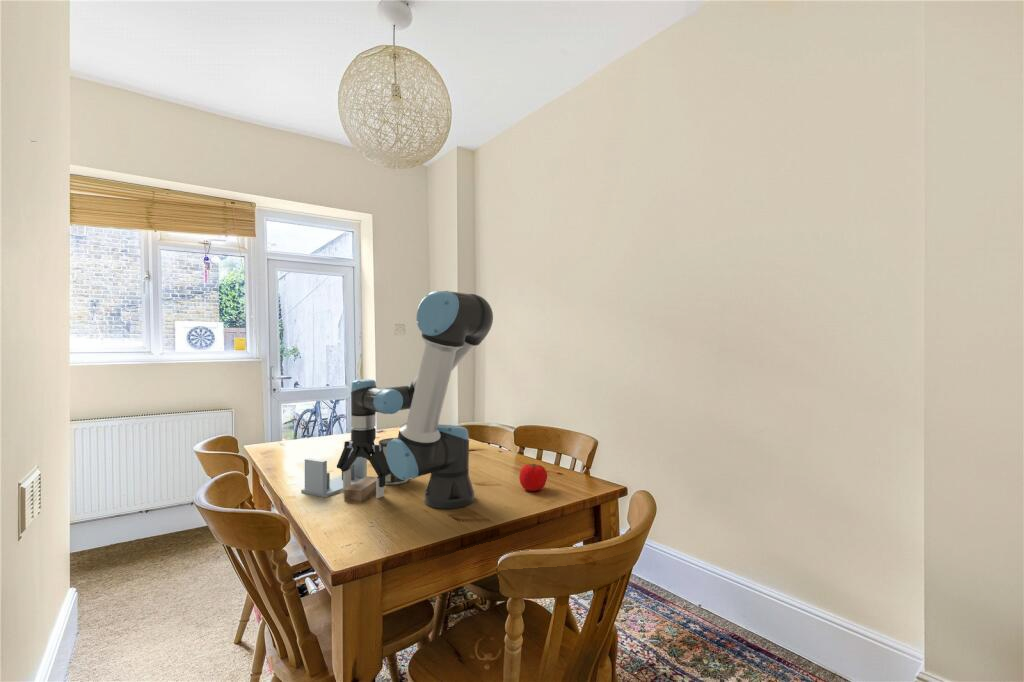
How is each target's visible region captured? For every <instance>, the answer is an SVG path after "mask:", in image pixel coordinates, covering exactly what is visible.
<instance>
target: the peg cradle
mask: <svg viewBox="0 0 1024 682" xmlns="http://www.w3.org/2000/svg"><path fill="white" fill-rule="evenodd" d="M352 451H353V448H352V450H351V452H352ZM351 452H350V454H351ZM350 454H349V456H350ZM348 458H349V457H348ZM367 463H368V460H367V459H366V458H363V457H357V458H356V460H355V461H354V462H353V464H352V465H351V466H350V469H348V470H351V485H353V484H354V483H356V482H358V481H359V480H361V479H363V478H364V477H366V476H368V475H367V474H368V470H367V469H368V466H367ZM327 468H328V461H327V460H324V459H317V458H312V457H311V458H310V457H308V458H305V459H304V488H302V489H300V490H301V491H300V493H301V494H307V495H311V496H317V497H322V498H329V497H332V496H333V495H336V494H339V493H341V492H343V480H342V475H339V476H337V477H333V478H331V479H330V472H328V469H327Z"/></svg>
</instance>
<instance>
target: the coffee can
mask: <svg viewBox="0 0 1024 682" xmlns="http://www.w3.org/2000/svg"><path fill="white" fill-rule="evenodd" d="M394 438H395V437H389V438H384V439H381V440H379V441H378V445H379V444H382V445H383V452H384V455H385V457H386V447H387V444H388V443H389V442H390V441H391V440H393V439H394ZM390 471H391V470H390ZM408 481H410V479H407V480H402V479H399V478H397V477H396V476H395V475H394V474H393V473H392V472H391V474H389V475H386V476H385V486H386V485H387V486H388V485H389V486H390V485H391V486H392V485H393V486H395V485H401V484H404V483H406V482H408Z"/></svg>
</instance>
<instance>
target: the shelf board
mask: <svg viewBox="0 0 1024 682" xmlns="http://www.w3.org/2000/svg"><path fill="white" fill-rule="evenodd" d="M376 477H377V476H368V475H367V476H366V477H364V478H363V479H361V480H359V481H358V482H356V483H354V484H353V485H351V486H349V487H347V488H346V489H344V492H343V499H344V500H343V502H344V503H345V502H347V503H348V502H349V503H363V502H364V501H365V500H367V499H368V498H370V497H371V496H373V495H374V494H376Z"/></svg>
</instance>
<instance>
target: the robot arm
mask: <svg viewBox="0 0 1024 682" xmlns="http://www.w3.org/2000/svg"><path fill="white" fill-rule="evenodd" d="M415 317H416V321H417V327H418V329H419V331H420V332H421V335H420V338H421V339H422V340H423V343H424V348H423V352H422V357H421V360H420V365H419V369H418V374H417V375H416V376H415V377H414V379H413V380H412V381H411V382H410V384H408V385H402V386H393V387H392V386H391V387H377V383H376V380H374V379H369V378H368V379H366V378H365V379H355V380H353V381H352V382H351V391H350V404H351V405H350V406H351V407H350V414H351V416H350V420H351V421H350V427H351V429H350V440H347V441H344V444H343V445H344V446H343V450H342V452H341V455H340V457H339V458H338V459H339V460H338V462H337V464H336V468H337V469H339V470H340V471H341V476H342V480H343V491H342V492H343V493H344V489H346V488H347V487H349V486H351V470H348V469H350V466H351V465H352V464H353V462H354V461H355V460H356V458H357V457H363V458H366V459H367V461H368V462H369V463H370V465H371V467H372V468H373V470H374V472H375V473H376V475H377V476H375V477H376V492H375V498H376V499H380V498H383V497H384V495H385V492H384V489H385V487H386V484H385V476H386V475H389V474H391V472H392V473H393V474H394V475H395V476H396V477H397V478H399V479H402V480H407V479H409V480H411V479H412V480H413V479H416V478H418V477H422V476H425V475H428V474H430V477H429V481H428V483H427V487H426V490H425V492H424V504H425V505H427V506H429V507H432V508H434V509H441V510H442V509H444V510H445V509H447V510H449V509H458V508H464V507H466V506H468V505H471V504H472V503H473V502H474V501H475V491H474V488H473V484H472V481H471V477H470V474H469V473H470V472H469V470H470V469H469V464H470V460H469V459H470V437H469V430H468V429H467V428H466V427H464V426H460V425H456V424H455V425H452V424H439V421H440V419H441V413H442V411H443V410H442V409H443V407H444V402H445V397H446V395H447V390H448V385H449V382H450V379H451V373H452V371H453V370H454V369H455V368H456V367H457V366H458V364H460V362H461V361H462V360H463V359H464V357H465V356H466V355H467V354H468V353H469V352H470V351H471V350H472V348H473V347H477V346H479V345H480V344H481V343H482V342H483V341H484V340H485V338H486V337H487V336H488V334H489V332H490V330H491V328H492V326H493V322H494V312H493V309H492V307H491V305H490V304H489V301H487V300H486V299H485V298H484V297H482V296H481V295H478V294H473V293H464V292H457V291H456V292H455V291H449V290H437V291H436V290H435V291H432V292H431V291H430V293H428V294H426V295H425V296H424V297H423V298H422V299H421V301H420V303H419V305H418V307H417V310H416V316H415ZM404 410H409V412H408V416H407V422H405V423H403V424H401V425H400V427H399V431H398V434H397V437H393V438H394V439H393V440H391V441H390V442H389V443H388V444H387V447H386V457H385V455H384V452H383V445H382V444H379V443H378V444H375V440H376V437H377V436H376V431H377V429H376V428H375V427H376V421H377V420H376V419H377V417H376V415H377V413H379V414H383V415H393V414H396V413H398V412H399V411H404ZM352 448H353V451H352V452H351V450H352ZM350 452H351V454H350ZM349 454H350V456H349ZM348 457H349V458H348ZM390 470H391V471H390Z"/></svg>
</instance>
